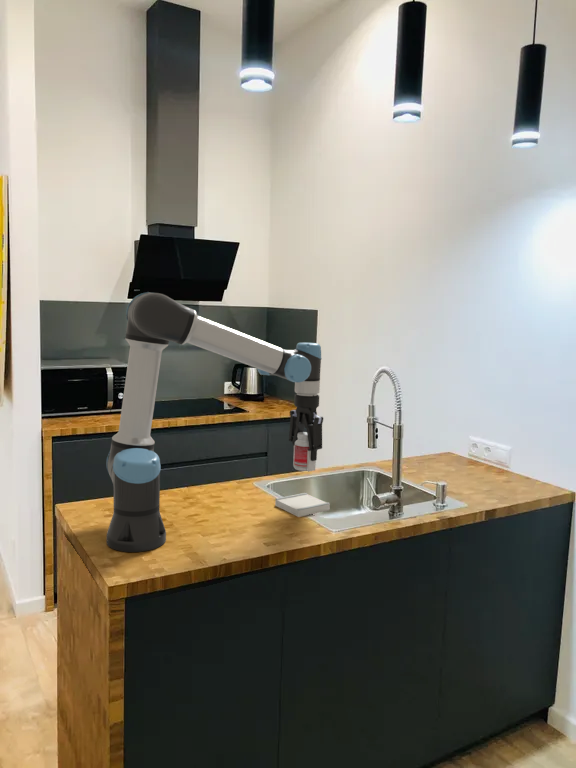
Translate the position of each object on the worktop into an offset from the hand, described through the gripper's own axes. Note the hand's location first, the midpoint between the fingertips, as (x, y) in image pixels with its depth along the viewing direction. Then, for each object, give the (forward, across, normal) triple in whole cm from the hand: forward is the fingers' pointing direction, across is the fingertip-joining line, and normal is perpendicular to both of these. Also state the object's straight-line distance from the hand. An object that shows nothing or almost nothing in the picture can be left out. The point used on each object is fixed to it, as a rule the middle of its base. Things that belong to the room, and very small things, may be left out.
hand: (304, 467), depth 196 cm
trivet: (+13, 0, 0) cm, 13 cm away
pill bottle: (0, 0, 0) cm, 0 cm away
